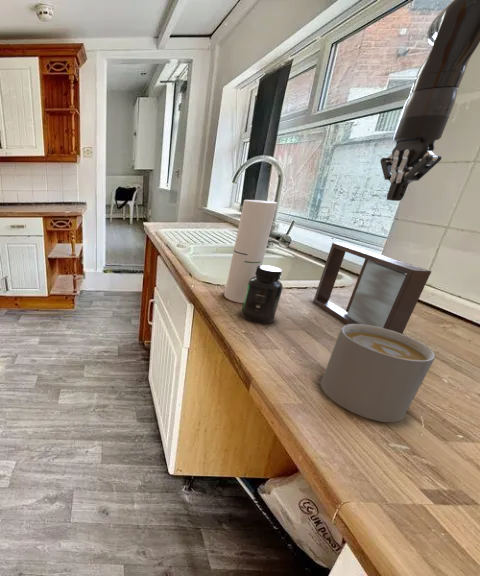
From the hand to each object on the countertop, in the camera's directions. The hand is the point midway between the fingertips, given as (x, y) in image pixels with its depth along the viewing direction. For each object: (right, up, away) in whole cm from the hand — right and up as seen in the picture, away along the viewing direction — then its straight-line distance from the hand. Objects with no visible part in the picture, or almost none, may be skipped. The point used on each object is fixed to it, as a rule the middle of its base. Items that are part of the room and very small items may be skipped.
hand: (393, 200), depth 71 cm
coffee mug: (-28, -37, -23) cm, 52 cm away
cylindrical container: (-31, -23, +11) cm, 40 cm away
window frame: (-10, -28, 0) cm, 30 cm away
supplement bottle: (-32, -28, 0) cm, 42 cm away
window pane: (-5, -28, -3) cm, 29 cm away
